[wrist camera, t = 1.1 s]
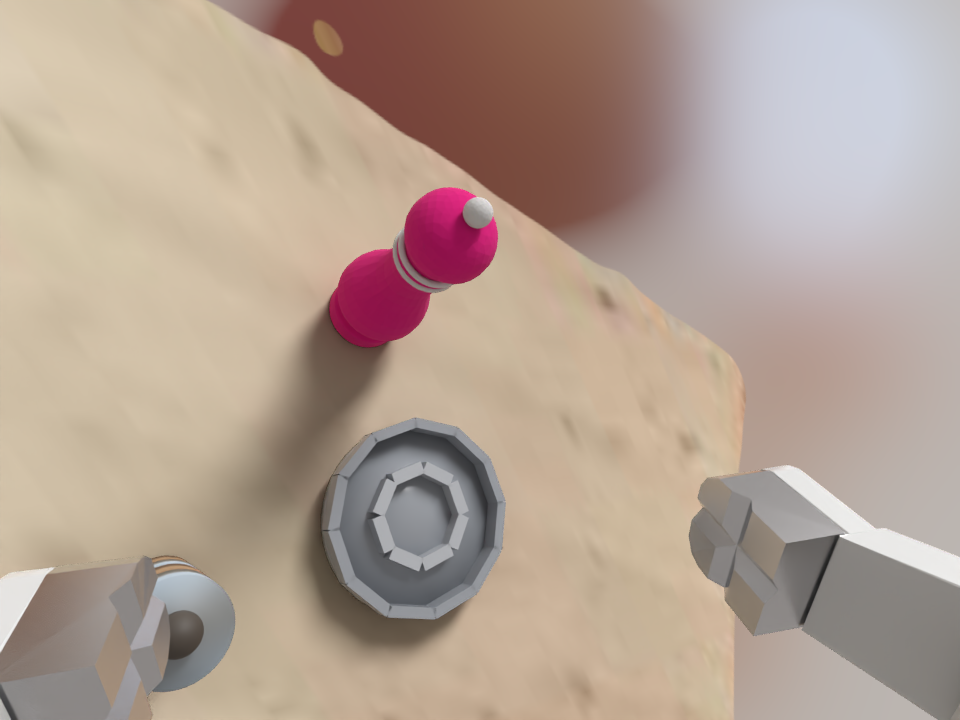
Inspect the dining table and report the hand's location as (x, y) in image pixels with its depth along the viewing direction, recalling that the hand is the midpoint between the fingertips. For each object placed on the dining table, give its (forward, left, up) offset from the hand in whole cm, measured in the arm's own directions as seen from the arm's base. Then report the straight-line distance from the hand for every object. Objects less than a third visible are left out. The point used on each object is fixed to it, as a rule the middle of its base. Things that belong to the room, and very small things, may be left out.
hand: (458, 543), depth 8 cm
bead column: (+3, -3, -36) cm, 36 cm away
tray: (+6, +15, -36) cm, 39 cm away
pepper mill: (-12, +17, -36) cm, 42 cm away
